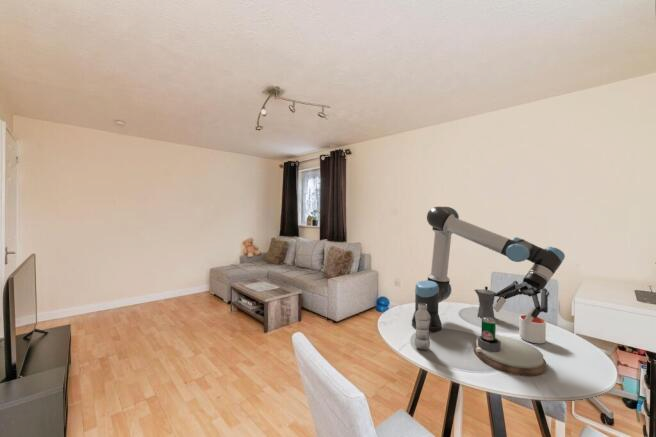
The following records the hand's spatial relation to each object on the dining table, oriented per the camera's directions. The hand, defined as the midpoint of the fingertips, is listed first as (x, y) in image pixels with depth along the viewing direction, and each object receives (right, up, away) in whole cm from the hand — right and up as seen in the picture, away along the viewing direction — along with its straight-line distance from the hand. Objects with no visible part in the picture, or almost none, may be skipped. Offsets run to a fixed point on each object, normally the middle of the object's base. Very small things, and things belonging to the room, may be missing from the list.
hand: (509, 315), depth 110 cm
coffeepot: (+17, -17, +43) cm, 50 cm away
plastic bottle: (-34, -18, +9) cm, 39 cm away
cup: (+22, -18, +17) cm, 33 cm away
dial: (-1, -16, +1) cm, 16 cm away
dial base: (0, -18, +1) cm, 18 cm away
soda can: (-8, -14, +2) cm, 16 cm away
